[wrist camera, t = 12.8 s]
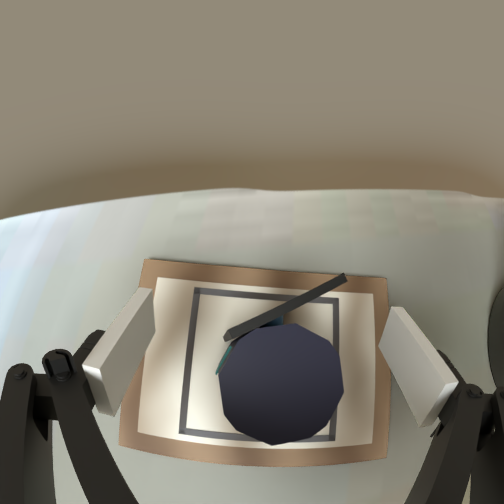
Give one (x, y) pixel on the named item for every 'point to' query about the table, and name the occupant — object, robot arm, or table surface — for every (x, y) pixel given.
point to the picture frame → (214, 347)
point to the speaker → (280, 375)
